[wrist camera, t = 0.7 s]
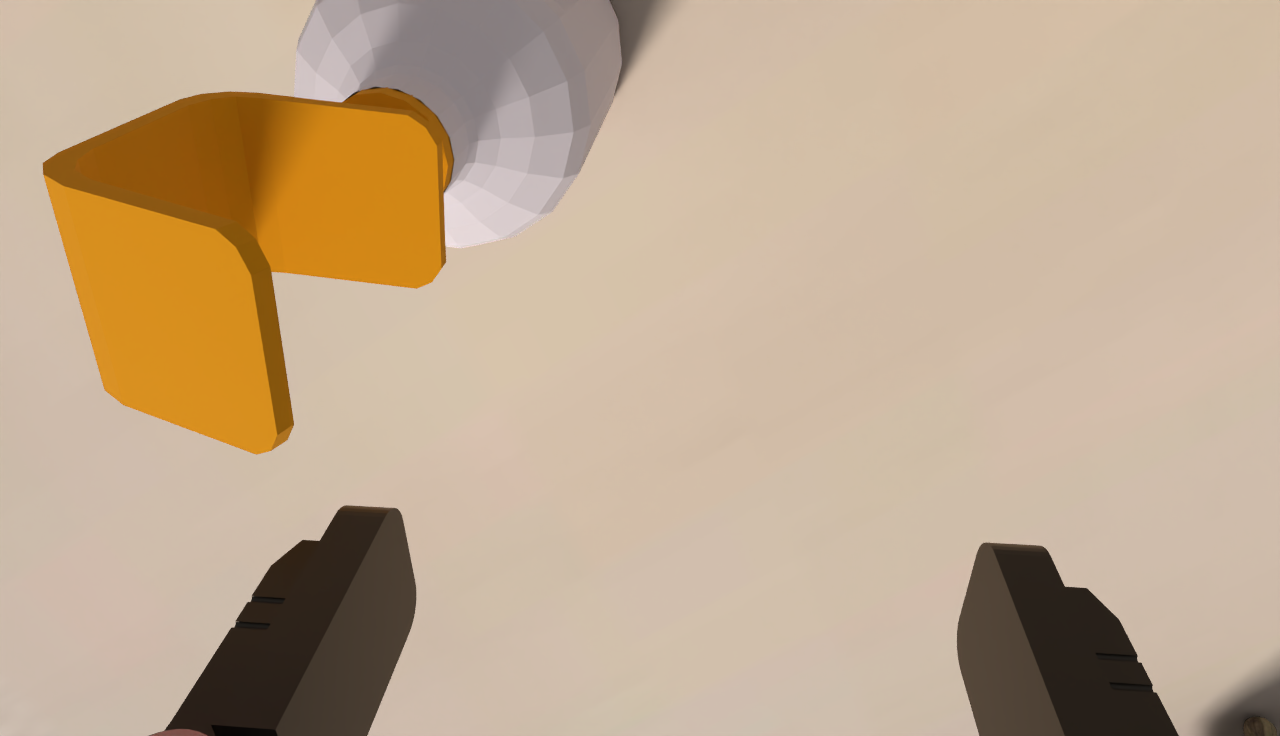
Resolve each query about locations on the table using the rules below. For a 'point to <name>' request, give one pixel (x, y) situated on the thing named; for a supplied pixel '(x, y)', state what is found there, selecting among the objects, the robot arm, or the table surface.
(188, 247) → the soap bottle
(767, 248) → the table surface
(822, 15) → the table surface
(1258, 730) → the tabletop clock
